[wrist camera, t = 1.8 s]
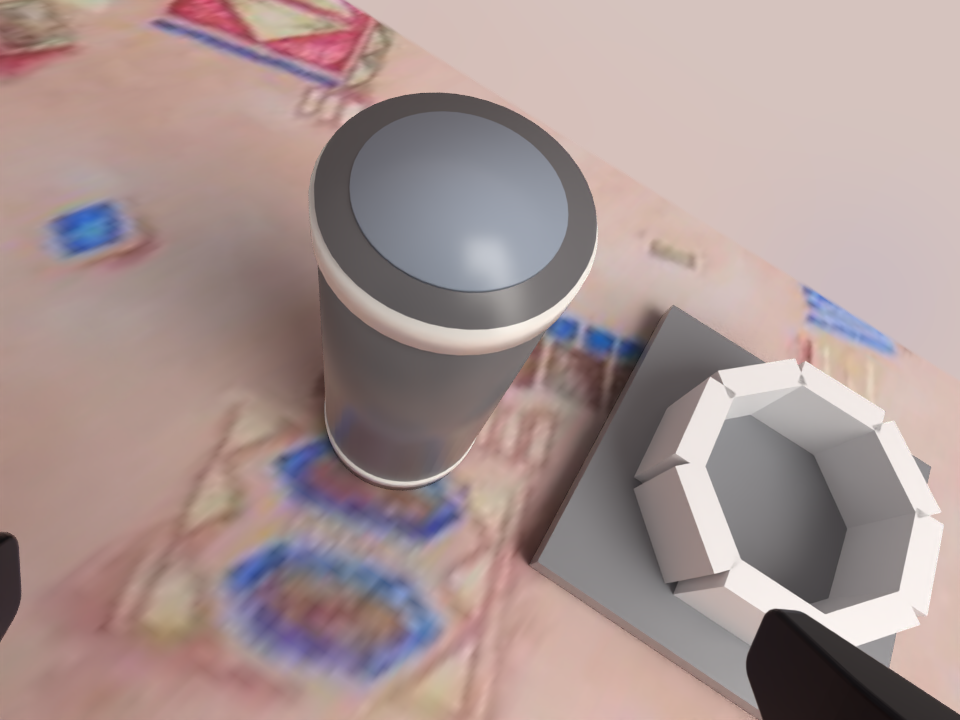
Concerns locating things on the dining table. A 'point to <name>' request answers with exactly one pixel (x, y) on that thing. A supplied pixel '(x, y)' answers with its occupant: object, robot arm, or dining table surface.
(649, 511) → the stand
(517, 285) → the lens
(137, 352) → the dining table surface
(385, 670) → the dining table surface
